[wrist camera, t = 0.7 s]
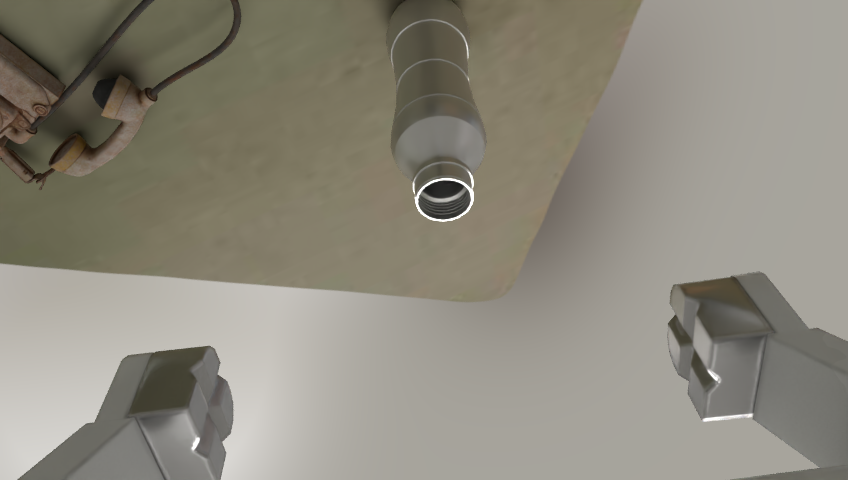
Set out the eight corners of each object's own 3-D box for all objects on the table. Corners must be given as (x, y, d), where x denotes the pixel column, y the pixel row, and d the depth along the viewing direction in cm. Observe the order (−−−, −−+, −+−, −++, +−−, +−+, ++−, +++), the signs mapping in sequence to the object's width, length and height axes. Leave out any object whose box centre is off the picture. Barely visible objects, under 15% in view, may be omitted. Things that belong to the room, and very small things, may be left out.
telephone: (279, 27, 57) (272, 57, 54) (27, 210, 70) (10, 242, 67) (119, -141, 48) (101, -117, 45) (-135, 105, 61) (-163, 136, 58)
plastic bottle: (468, -20, 55) (500, 155, 42) (465, 57, 60) (494, 235, 47) (382, -16, 55) (388, 160, 41) (387, 60, 60) (394, 240, 46)
